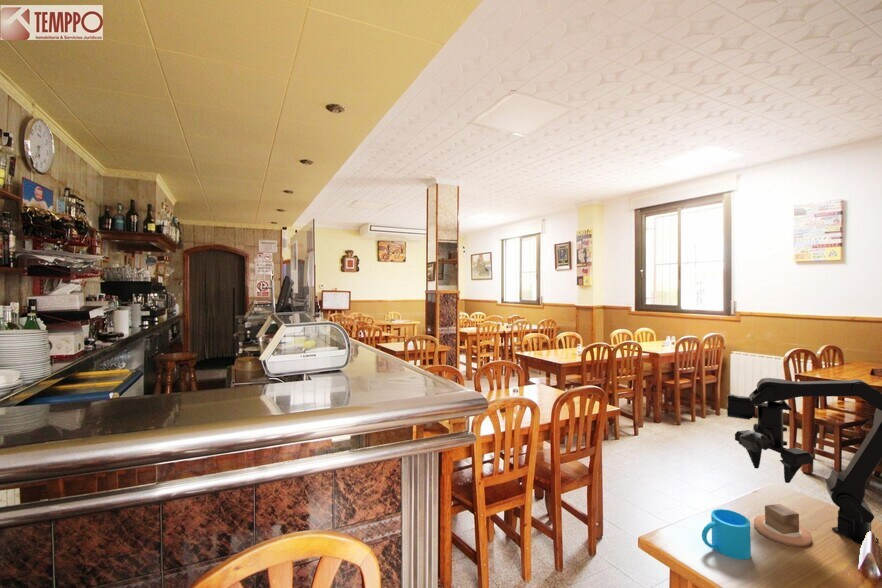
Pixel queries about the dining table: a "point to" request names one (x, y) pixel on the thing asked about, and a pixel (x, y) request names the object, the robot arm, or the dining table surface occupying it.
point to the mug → (729, 534)
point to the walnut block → (782, 518)
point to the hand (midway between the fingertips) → (771, 475)
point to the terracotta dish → (791, 539)
